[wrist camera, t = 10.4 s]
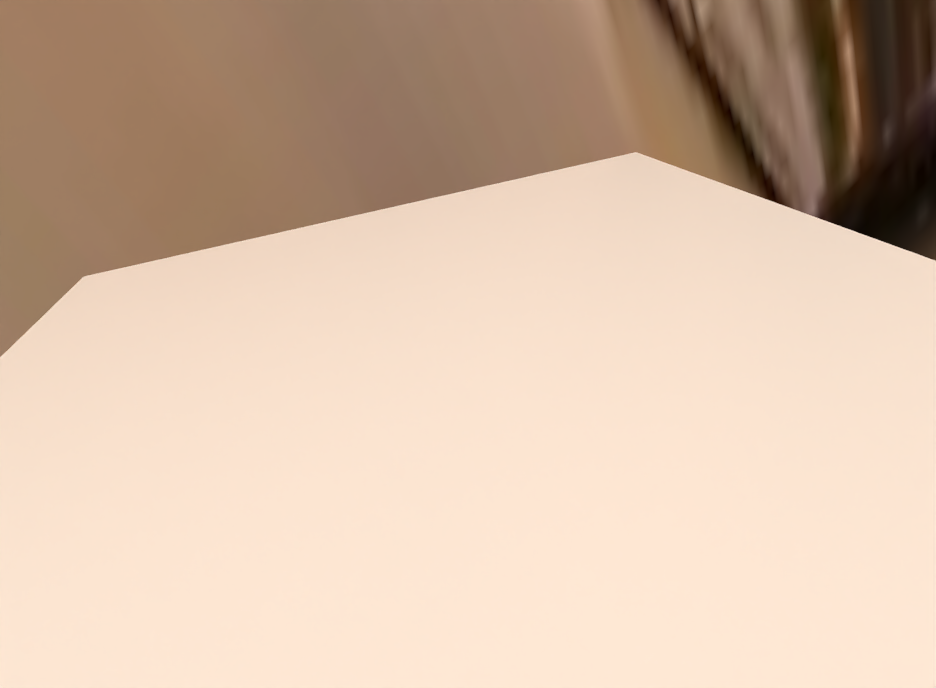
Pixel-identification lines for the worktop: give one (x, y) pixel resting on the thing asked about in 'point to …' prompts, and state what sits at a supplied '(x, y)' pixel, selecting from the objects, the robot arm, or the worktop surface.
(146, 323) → the cream matte cube
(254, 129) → the worktop surface
